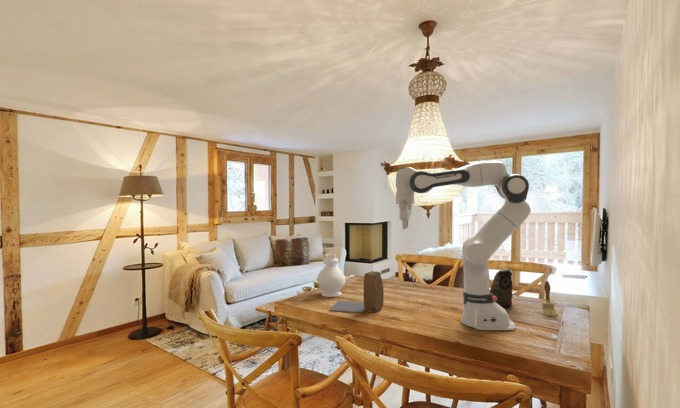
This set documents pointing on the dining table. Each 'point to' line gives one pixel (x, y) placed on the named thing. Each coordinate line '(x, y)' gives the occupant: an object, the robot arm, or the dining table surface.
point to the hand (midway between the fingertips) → (405, 228)
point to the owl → (502, 288)
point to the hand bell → (548, 303)
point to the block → (373, 292)
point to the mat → (348, 307)
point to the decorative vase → (331, 277)
